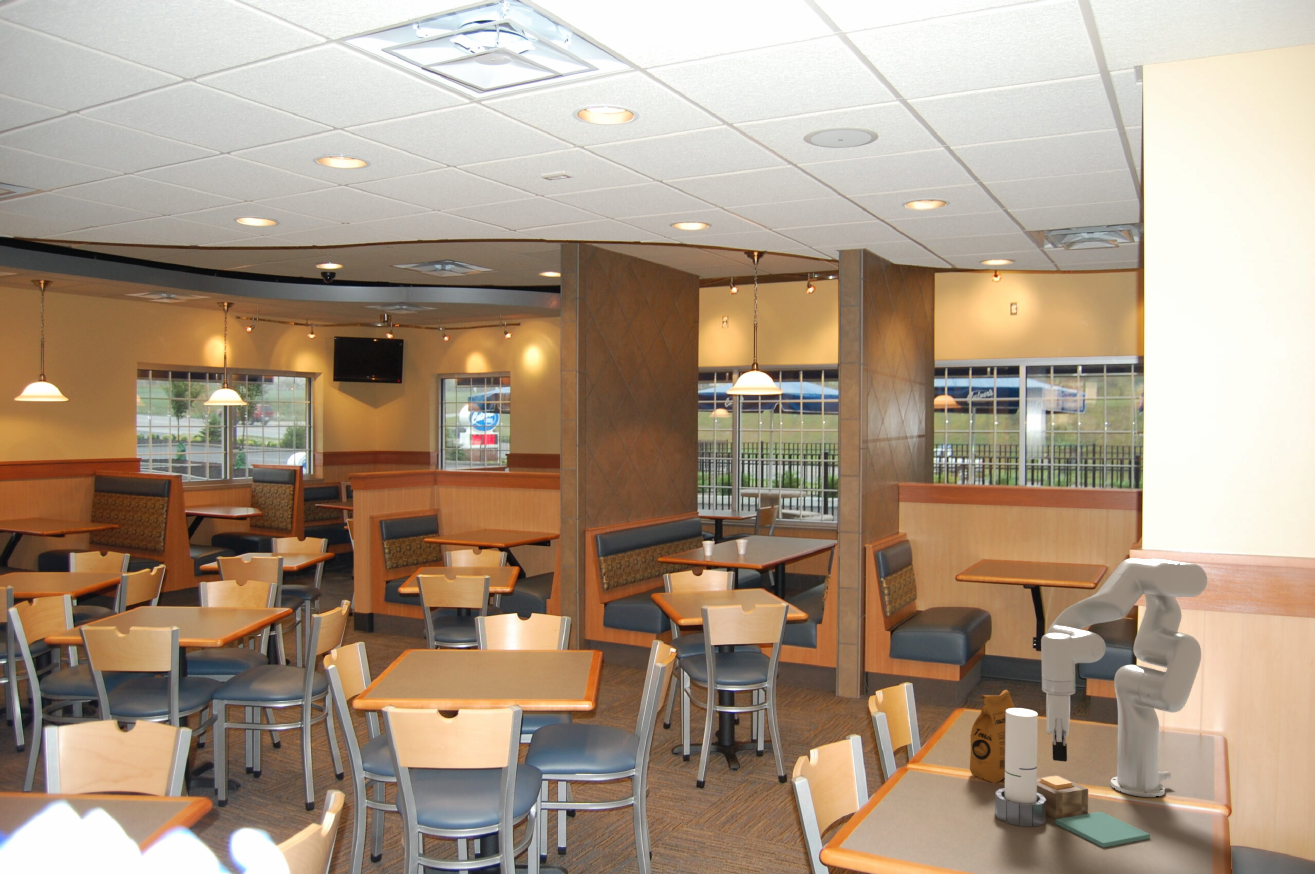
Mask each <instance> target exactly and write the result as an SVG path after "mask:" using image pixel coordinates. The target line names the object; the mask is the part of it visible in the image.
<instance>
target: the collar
mask: <svg viewBox="0 0 1315 874" xmlns="http://www.w3.org/2000/svg"><path fill="white" fill-rule="evenodd" d="M994 814H995V817H997V819H998V818H999V820H1000V819H1001V821H1002V820H1003V821H1002V822H1004V823H1006V822H1007V823H1006V824H1010V825H1013V824H1014V826H1018V827H1029V828H1032V827H1038V826H1039V827H1040V826H1043V825H1044V824H1045V823H1046V822H1047V815H1046V799H1045V797H1044V796H1043V795H1041V794H1039V793H1037V802H1035V803H1019V802H1015V801H1011V800H1008V799H1006V798H1005V787H1004V788H999V789H997V790H996V791H995V793H994Z"/></svg>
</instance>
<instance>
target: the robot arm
mask: <svg viewBox="0 0 1315 874" xmlns="http://www.w3.org/2000/svg"><path fill="white" fill-rule="evenodd" d="M1207 584H1208V576H1207V573H1206V571H1205V570H1204V568H1203V567H1202V566H1200V565H1199V564H1197V563H1192V562H1191V563H1190V562H1183V561H1176V560H1170V559H1163V558H1162V559H1161V558H1148V559H1143V558H1136V557H1135V558H1134V557H1131V558H1127V559H1125V560H1123V561H1122V562H1120V564H1119V565H1118V566H1117V567H1116V568H1115V569H1114V571H1113V572H1112V574H1110V576H1109V577H1108V578H1107V579H1106V581H1105V582H1104V584H1103V585H1102V586H1101V587H1100V588H1099V589H1098V591H1097V592H1096V593H1095V594H1093V595H1092V596H1089V597H1086V598H1084V599H1082V600H1080V601H1078V602H1076V603H1074V604H1071V606H1069V607H1067V608H1066V609H1064V610H1062V612H1060V613H1059V615H1058V616H1057V617H1056V618H1055V619H1054V621H1053V622H1052V623H1051V625H1050V626H1049V628H1048V630H1047V631H1046V634H1044V635H1042V636H1041V639H1040V642H1041V643H1040V647H1041V648H1040V650H1041V655H1040V656H1041V658H1040V659H1041V690H1042V692H1043V693H1046V696H1045V697H1046V699H1045V700H1046V705H1045V708H1046V711H1045V713H1046V733H1047V735H1050V734H1051V735H1053V736H1052V738H1053V739H1052V740H1053V741H1052V760H1053V761H1056V762H1065V763H1067V761H1068V745H1067V744H1068V743H1067V740H1066V737H1067V736H1069V732H1070V731H1069V729H1070V720H1071V695H1074V694H1076V664H1092V663H1096V662H1098V661H1100V660H1101V659H1102V658H1103V657H1104V655H1105V653H1106V649H1107V646H1106V642H1105V640H1104V639H1103V638H1102V636H1100V635H1099V634H1098V633H1095V632H1092V631H1088V630H1084V628H1086V627H1089V626H1092V625H1097V624H1102V623H1108V622H1114V621H1118V620H1121V619H1123V618H1125V617H1126V616H1127V615H1128V614H1129V613H1130V612H1131V610H1133V609H1132V608H1133V607H1134V606H1135V604H1136V603H1137V602H1138V601H1139V599H1140V598H1141V597H1142V596H1143V595H1144V597H1145V611H1144V613H1143V617H1142V619H1141V622H1140V626H1139V628H1138V632H1137V634H1136V636H1135V640H1134V642H1133V643H1134V644H1133V648H1132V649H1133V655H1134V656H1135V657H1136V659H1138V660H1139V661H1141V662H1143V663H1146V664H1149V665H1153V666H1156V667H1161V668H1166V670H1165V671H1162V670H1158V669H1155V668H1151V667H1147V666H1144V665H1143V666H1142V665H1138V664H1126V665H1123V666H1121V667H1120V668H1118V669H1117V671H1116V672H1115V675H1114V678H1113V683H1114V684H1113V685H1114V692H1115V695H1116V696H1115V697H1116V701H1117V702H1116V704H1117V759H1116V760H1117V763H1116V764H1117V765H1116V766H1117V768H1116V771H1117V773H1116V776H1114V777H1112V778H1111V779H1110V786H1111V788H1113V789H1114V788H1115V789H1114V790H1116V791H1118V792H1120V791H1121V792H1120V793H1123V794H1127V795H1130V796H1136V797H1141V798H1157V797H1156V796H1159V797H1161V796H1164V795H1165V794H1166V788H1165V786H1164V785H1163V784H1161V782H1162V781H1163V780H1170V779H1172V774H1171V773H1170V771H1168V770H1167V771H1160V770H1159V763H1160V761H1159V760H1160V759H1159V757H1160V755H1159V753H1160V742H1159V741H1160V721H1159V717H1158V715H1157V712H1156V710H1158V711H1162V712H1166V713H1178V712H1181V710H1183V708H1185V706H1186V704H1187V702H1188V700H1189V697H1190V695H1191V692H1192V688H1193V686H1194V683H1195V680H1196V678H1197V674H1198V671H1199V669H1200V664H1201V660H1202V648H1201V645H1200V642H1199V641H1198V640H1197V639H1196V638H1195V637H1194V636H1192V635H1190V634H1187V633H1183V632H1178V631H1179V628H1180V624H1181V622H1182V616H1183V615H1182V609H1181V607H1180V604H1179V602H1178V600H1177V598H1195V597H1198V596H1200V595H1201V594H1203V592H1204V591H1205V590H1206V588H1207ZM1155 709H1156V710H1155Z"/></svg>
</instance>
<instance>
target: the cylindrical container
mask: <svg viewBox="0 0 1315 874" xmlns="http://www.w3.org/2000/svg"><path fill="white" fill-rule="evenodd" d="M1038 713H1039V712H1037V711H1035V710H1033V709H1029V708H1023V707H1015V708H1009V709H1007V710H1006V729H1005V779H1004V788H1005V798H1006V799H1008V800H1011V801H1015V802H1019V803H1035V802H1037V778H1038V734H1039V733H1038V729H1039V726H1038V724H1039V722H1038V721H1039V714H1038Z"/></svg>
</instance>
